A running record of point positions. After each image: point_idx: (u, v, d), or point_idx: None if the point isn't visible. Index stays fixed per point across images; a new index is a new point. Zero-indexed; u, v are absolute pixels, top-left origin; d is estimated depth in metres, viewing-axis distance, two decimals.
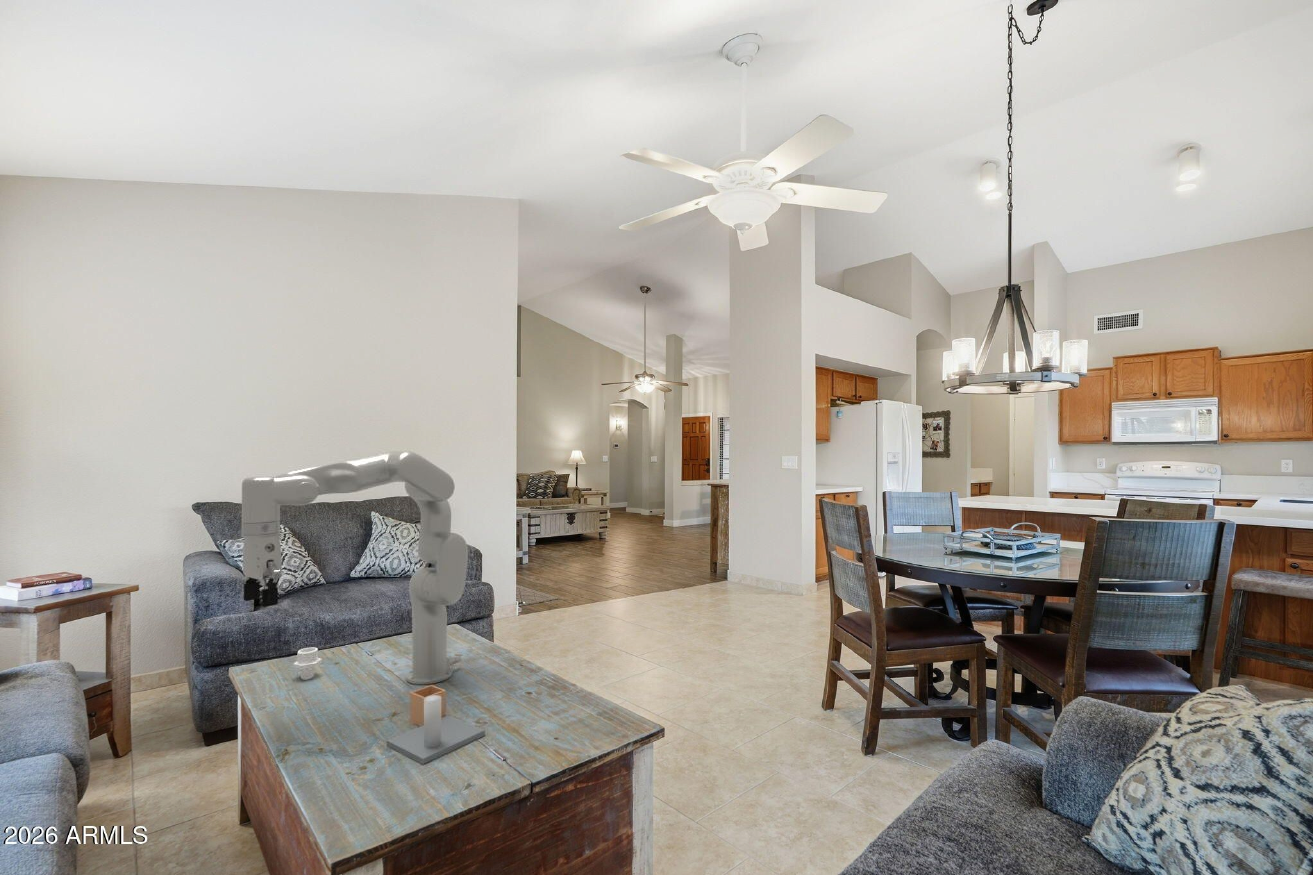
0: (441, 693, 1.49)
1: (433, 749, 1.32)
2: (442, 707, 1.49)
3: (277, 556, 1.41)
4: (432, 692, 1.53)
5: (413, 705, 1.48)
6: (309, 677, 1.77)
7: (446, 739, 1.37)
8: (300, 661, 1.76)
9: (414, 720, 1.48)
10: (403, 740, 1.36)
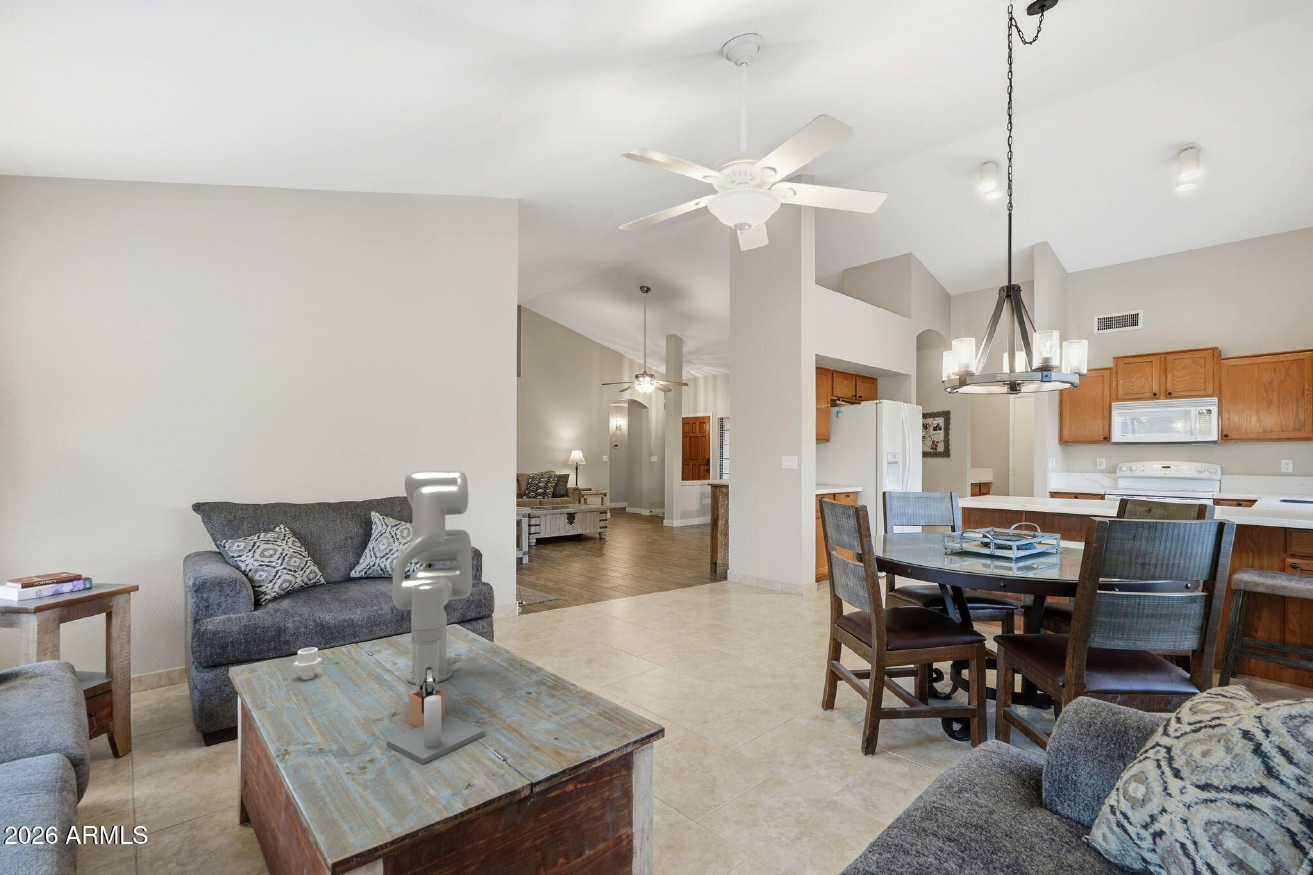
0: (440, 695, 1.48)
1: (433, 749, 1.32)
2: (441, 709, 1.48)
3: None
4: None
5: (412, 707, 1.47)
6: (309, 677, 1.77)
7: (446, 739, 1.37)
8: (300, 661, 1.76)
9: (413, 722, 1.47)
10: (403, 740, 1.36)
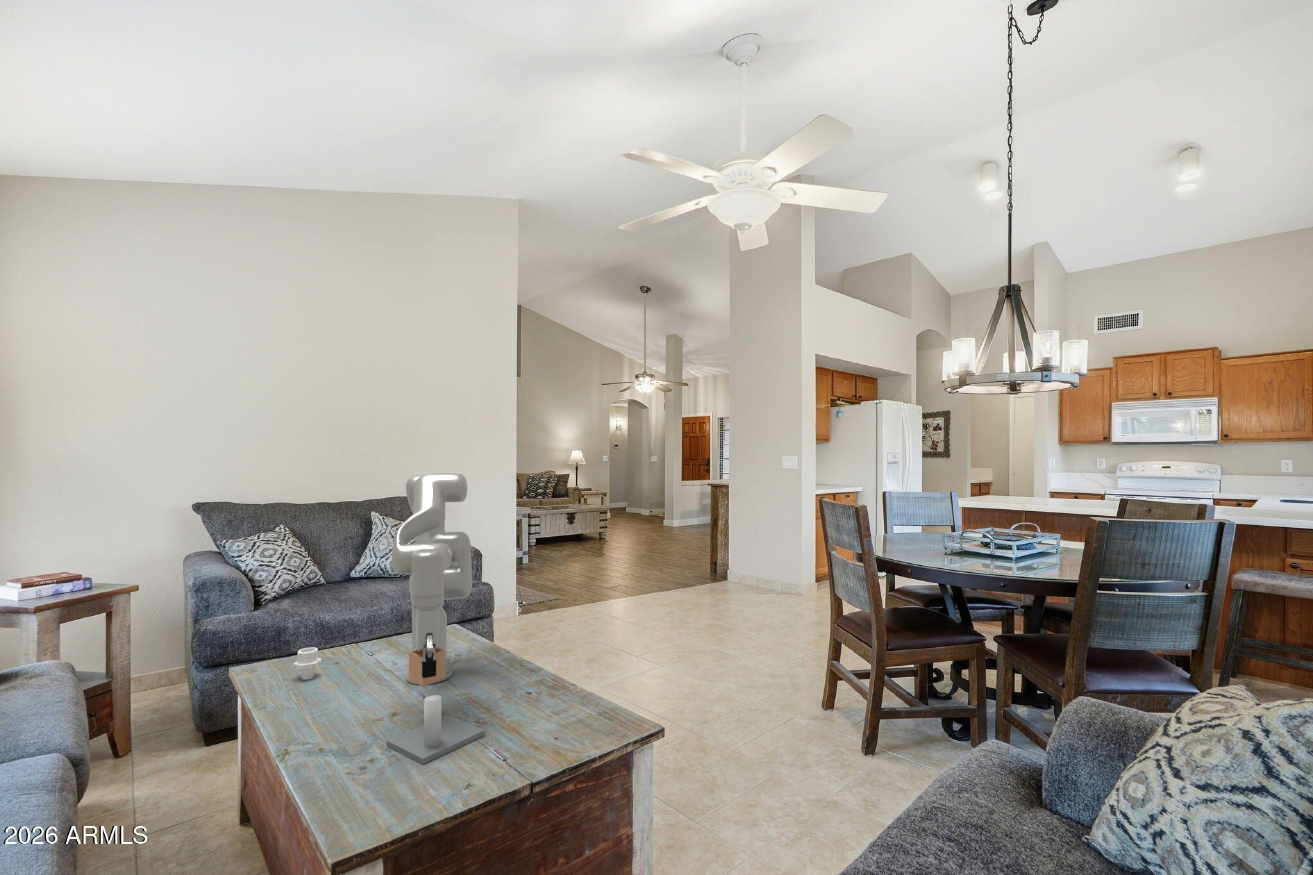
0: (440, 653, 1.50)
1: (433, 749, 1.32)
2: (441, 666, 1.51)
3: None
4: None
5: (412, 664, 1.49)
6: (309, 677, 1.77)
7: (446, 739, 1.37)
8: (300, 661, 1.76)
9: (413, 679, 1.49)
10: (403, 740, 1.36)
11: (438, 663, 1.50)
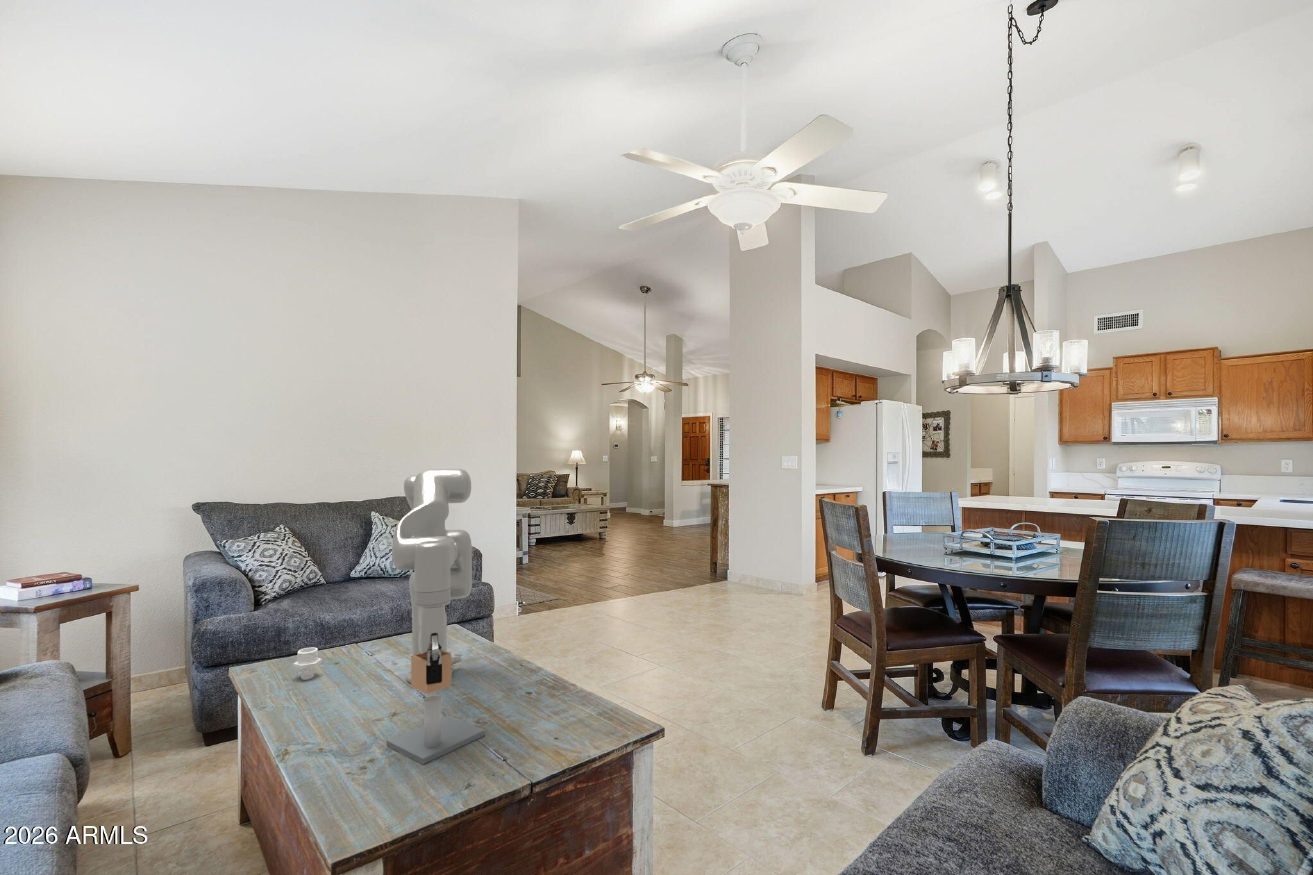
0: (446, 656, 1.34)
1: (433, 749, 1.32)
2: (447, 672, 1.35)
3: None
4: None
5: (415, 669, 1.33)
6: (309, 677, 1.77)
7: (446, 739, 1.37)
8: (300, 661, 1.76)
9: (416, 686, 1.33)
10: (403, 740, 1.36)
11: (444, 668, 1.34)
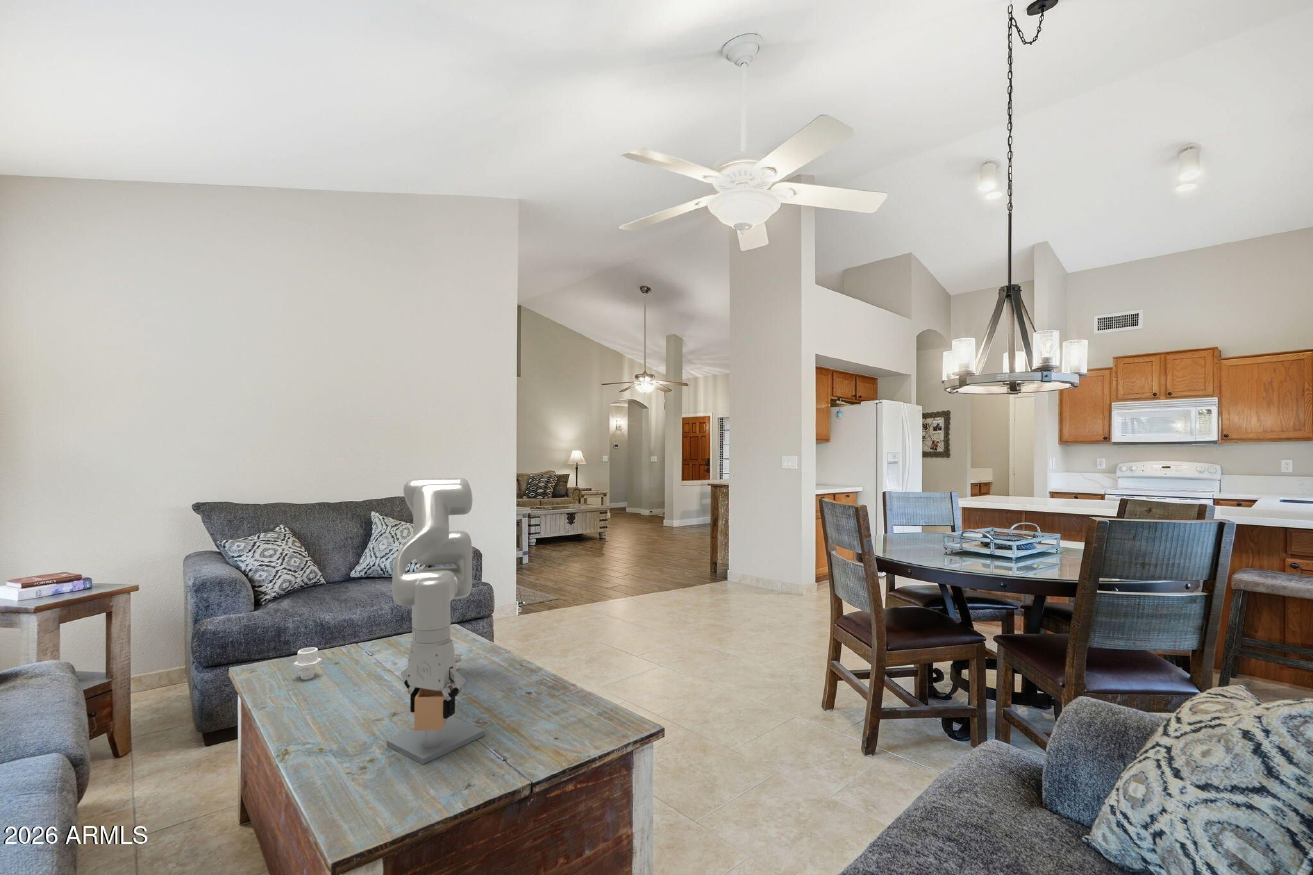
0: None
1: (433, 749, 1.32)
2: None
3: None
4: (425, 694, 1.37)
5: (422, 710, 1.32)
6: (309, 677, 1.77)
7: (446, 739, 1.37)
8: (300, 661, 1.76)
9: (423, 727, 1.32)
10: (403, 740, 1.36)
11: None
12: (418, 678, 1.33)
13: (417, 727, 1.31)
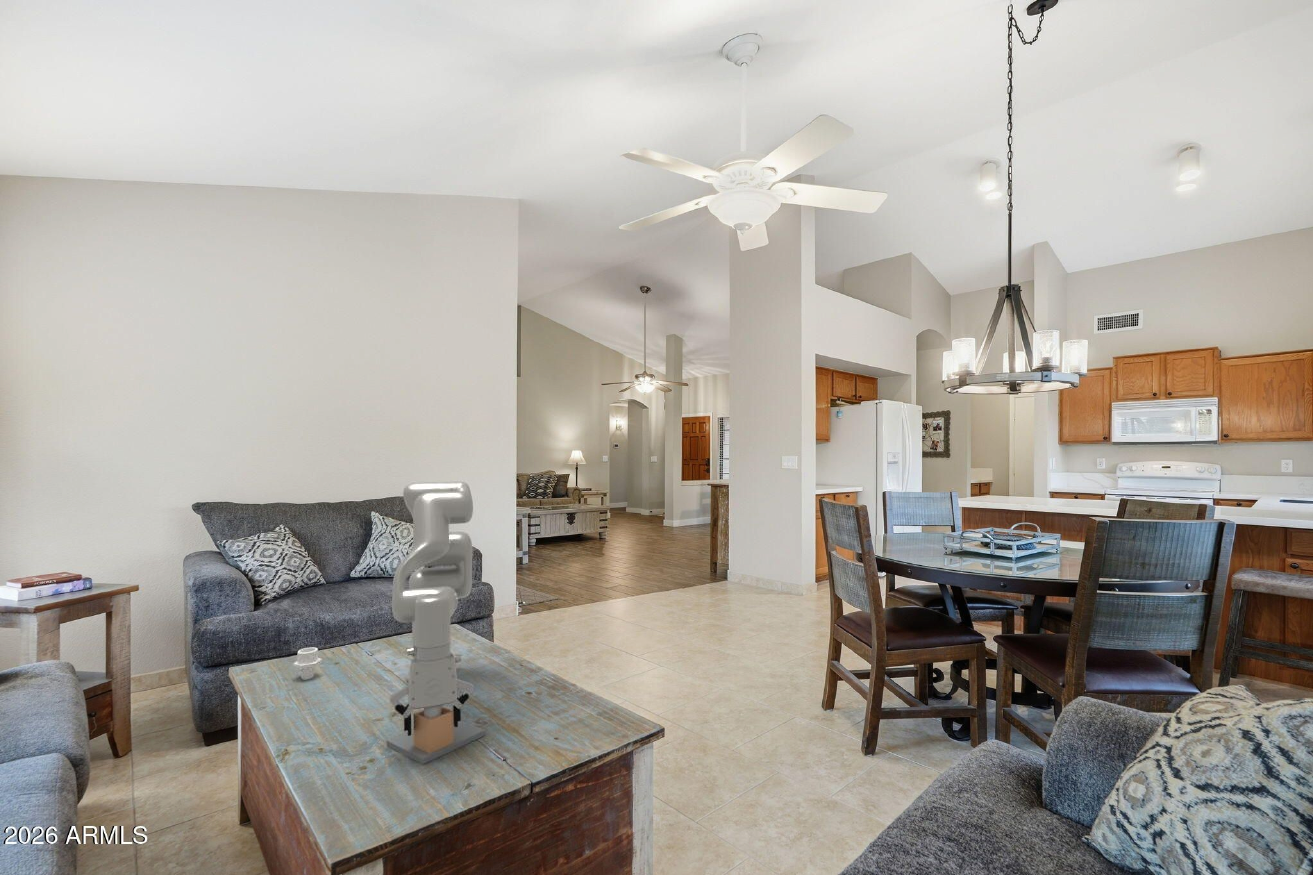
0: None
1: None
2: None
3: (408, 685, 1.32)
4: None
5: (436, 730, 1.32)
6: (309, 677, 1.77)
7: None
8: (300, 661, 1.76)
9: (437, 747, 1.32)
10: (403, 740, 1.36)
11: None
12: (426, 697, 1.32)
13: (432, 749, 1.31)
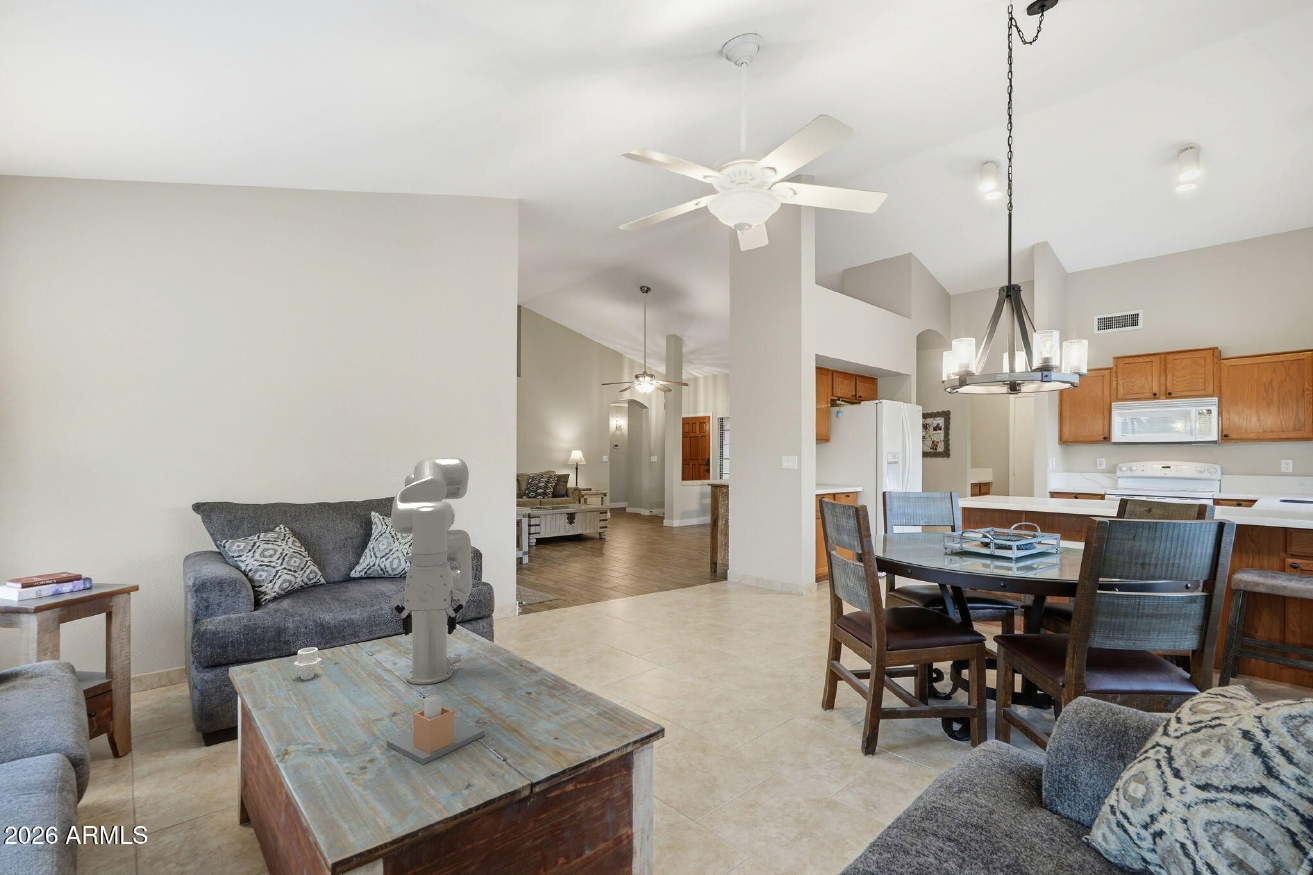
0: None
1: None
2: None
3: None
4: None
5: (436, 730, 1.32)
6: (309, 677, 1.77)
7: None
8: (300, 661, 1.76)
9: (437, 747, 1.32)
10: (403, 740, 1.36)
11: None
12: (419, 601, 1.38)
13: (432, 749, 1.31)
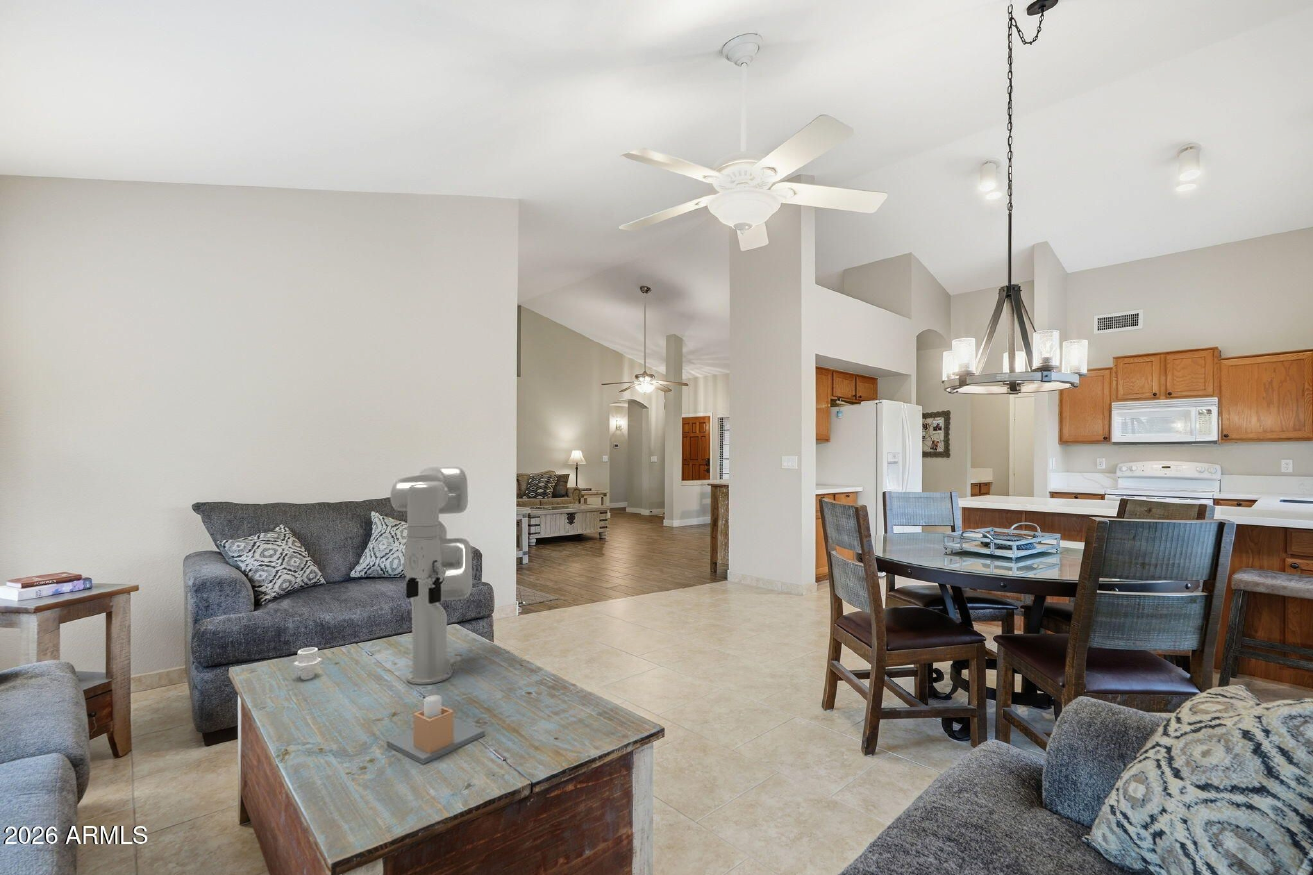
0: None
1: None
2: None
3: None
4: None
5: (436, 730, 1.32)
6: (309, 677, 1.77)
7: None
8: (300, 661, 1.76)
9: (437, 747, 1.32)
10: (403, 740, 1.36)
11: None
12: (410, 568, 1.53)
13: (432, 749, 1.31)
